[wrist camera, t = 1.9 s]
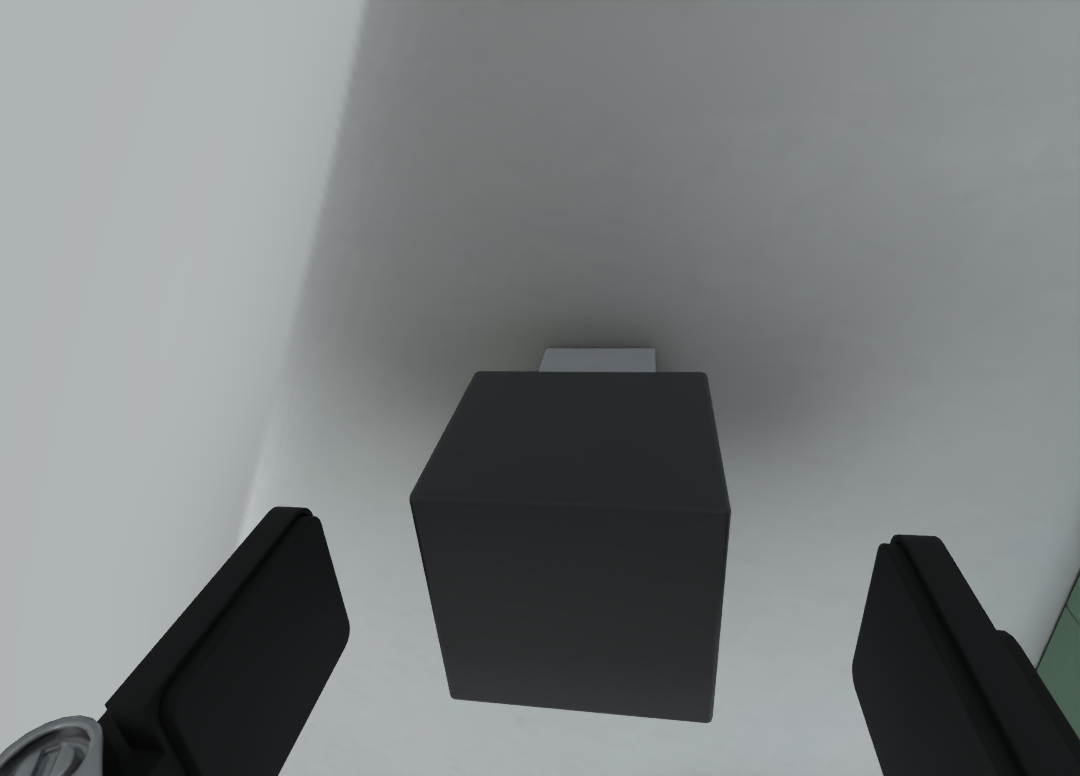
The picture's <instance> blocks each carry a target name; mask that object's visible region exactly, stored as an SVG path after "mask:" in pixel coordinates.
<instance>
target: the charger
mask: <svg viewBox="0 0 1080 776" xmlns="http://www.w3.org/2000/svg"><path fill="white" fill-rule="evenodd" d="M409 499H410V505H411V510H412V514H413V519H414V524H415V529H416V533H417V538H418V543H419V548H420V552H421V557H422V562H423V567H424V572H425V576H426V581H427V586H428V591H429V595H430V600H431V605H432V610H433V614H434V619H435V624H436V629H437V633H438V638H439V643H440V648H441V652H442V657H443V662H444V667H445V671H446V676H447V681H448V686H449V690H450V695H451V697H452V698H453V699H458V700H468V701H479V702H489V703H500V704H510V705H521V706H532V707H542V708H553V709H563V710H574V711H585V712H595V713H606V714H616V715H627V716H637V717H648V718H659V719H669V720H680V721H690V722H701V723H709V722H711V720H712V717H713V706H714V695H715V684H716V673H717V662H718V651H719V639H720V628H721V617H722V606H723V595H724V584H725V572H726V561H727V550H728V539H729V528H730V516H731V508H730V503H729V497H728V491H727V486H726V480H725V474H724V469H723V463H722V457H721V452H720V446H719V440H718V435H717V429H716V423H715V418H714V412H713V406H712V401H711V395H710V389H709V384H708V378H707V375H706V374H705V373H703V372H656V363H655V349H654V348H547V349H546V350H545V353H544V356H543V359H542V362H541V365H540V368H539V371H538V372H519V371H479V372H476V373H475V374H474V376H473V378H472V380H471V382H470V384H469V386H468V387H467V389H466V391H465V393H464V395H463V397H462V399H461V401H460V402H459V404H458V406H457V408H456V410H455V412H454V414H453V416H452V417H451V419H450V421H449V423H448V425H447V427H446V429H445V431H444V433H443V434H442V436H441V438H440V440H439V442H438V444H437V446H436V448H435V449H434V451H433V453H432V455H431V457H430V459H429V461H428V463H427V464H426V466H425V468H424V470H423V472H422V474H421V476H420V478H419V479H418V481H417V483H416V485H415V487H414V489H413V491H412V493H411V494H410V498H409Z"/></svg>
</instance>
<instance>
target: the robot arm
mask: <svg viewBox="0 0 1080 776" xmlns="http://www.w3.org/2000/svg"><path fill="white" fill-rule="evenodd" d="M349 632H350V625H349V620H348V617H347V613H346V609H345V606H344V602H343V599H342V595H341V592H340V588H339V585H338V581H337V578H336V574H335V571H334V567H333V563H332V560H331V556H330V553H329V549H328V546H327V542H326V539H325V535H324V532H323V528H322V524H321V522H320V519H319V518H318V517H315V516H313V515H312V512H311V511H310V510H309V509H307V508H299V507H274V508H272V509H271V510H270V511H269V512H268V513H267V514H266V516H265V517H264V518H263V519H262V520H261V522H260V523H259V524H258V525H257V526H256V527H255V529H254V530H253V531H252V532H251V533H250V534H249V536H248V537H247V538H246V539H245V540H244V542H243V543H242V544H241V545H240V546H239V547H238V549H237V550H236V551H235V552H234V553H233V554H232V556H231V557H230V558H229V559H228V560H227V562H226V563H225V564H224V565H223V566H222V568H221V569H220V570H219V571H218V572H217V573H216V575H215V576H214V577H213V578H212V579H211V580H210V582H209V583H208V584H207V585H206V586H205V587H204V589H203V590H202V591H201V592H200V593H199V594H198V596H197V597H196V598H195V599H194V600H193V601H192V603H191V604H190V605H189V606H188V607H187V609H186V610H185V611H184V612H183V613H182V614H181V616H180V617H179V618H178V619H177V620H176V622H175V623H174V624H173V625H172V626H171V627H170V629H169V630H168V631H167V632H166V633H165V635H164V636H163V637H162V638H161V639H160V640H159V642H158V643H157V644H156V645H155V646H154V647H153V649H152V650H151V651H150V652H149V653H148V654H147V656H146V657H145V658H144V659H143V660H142V661H141V663H140V664H139V665H138V666H137V667H136V668H135V670H134V671H133V672H132V673H131V674H130V676H129V677H128V678H127V679H126V680H125V682H124V683H123V684H122V685H121V686H120V687H119V689H118V690H117V691H116V692H115V693H114V695H113V696H112V697H111V698H110V699H109V700H108V701H107V703H106V704H105V706H106V708H107V711H106V712H105V713H104V715H103V716H102V717H101V718H100V719H99V720H98V721H97V722H96V721H95V720H94V719H93V718H90V717H85V716H81V715H79V716H70V717H63V718H60V719H57V720H54V721H51V722H48V723H45V724H43V725H42V726H40V727H38V728H36V729H34V730H32V731H30V732H28V733H27V734H25V735H24V736H22V737H21V738H20V739H18V740H17V741H16V742H14V743H13V744H11V745H10V746H9V747H8V748H6V749H5V750H4V751H3V752H2V753H1V755H0V776H278V775H279V773H280V771H281V769H282V767H283V765H284V763H285V761H286V759H287V757H288V755H289V753H290V752H291V750H292V748H293V746H294V744H295V742H296V740H297V738H298V736H299V734H300V732H301V731H302V729H303V727H304V725H305V723H306V721H307V719H308V717H309V715H310V713H311V711H312V709H313V708H314V706H315V704H316V702H317V700H318V698H319V696H320V694H321V692H322V690H323V688H324V687H325V685H326V683H327V681H328V679H329V677H330V675H331V673H332V671H333V669H334V667H335V665H336V664H337V662H338V660H339V658H340V656H341V654H342V652H343V650H344V648H345V646H346V644H347V642H348V638H349ZM852 674H853V682H854V686H855V690H856V693H857V696H858V699H859V702H860V705H861V708H862V711H863V714H864V717H865V720H866V724H867V727H868V730H869V733H870V736H871V739H872V742H873V745H874V748H875V751H876V754H877V757H878V760H879V763H880V766H881V769H882V772H883V775H884V776H1080V739H1079V738H1078V736H1077V734H1076V733H1075V731H1074V730H1073V728H1072V727H1071V725H1070V723H1069V722H1068V720H1067V719H1066V717H1065V715H1064V714H1063V712H1062V711H1061V709H1060V708H1059V706H1058V704H1057V703H1056V701H1055V700H1054V698H1053V697H1052V695H1051V693H1050V692H1049V690H1048V689H1047V687H1046V686H1045V684H1044V682H1043V681H1042V679H1041V678H1040V676H1039V674H1038V673H1037V671H1036V670H1035V668H1034V667H1033V665H1032V663H1031V662H1030V660H1029V659H1028V657H1027V656H1026V654H1025V652H1024V651H1023V649H1022V648H1021V646H1020V645H1019V644H1018V642H1017V641H1016V640H1015V639H1014V637H1013V636H1012V635H1010V634H1009V633H1007V632H1006V631H1002V630H996V629H995V627H994V626H993V624H992V622H991V621H990V619H989V617H988V616H987V614H986V612H985V611H984V609H983V608H982V606H981V604H980V603H979V601H978V599H977V598H976V596H975V594H974V593H973V591H972V590H971V588H970V586H969V585H968V583H967V581H966V580H965V578H964V576H963V575H962V573H961V571H960V570H959V568H958V567H957V565H956V563H955V562H954V560H953V558H952V557H951V555H950V553H949V552H948V550H947V549H946V547H945V545H944V544H943V542H942V541H941V540H940V539H939V538H938V537H936V536H918V535H894V536H893V538H892V539H891V542H890V544H884V543H883V544H881V545H880V546H879V548H878V551H877V556H876V560H875V565H874V569H873V574H872V578H871V583H870V587H869V591H868V596H867V600H866V605H865V609H864V614H863V618H862V623H861V627H860V632H859V636H858V641H857V645H856V650H855V654H854V659H853V664H852Z"/></svg>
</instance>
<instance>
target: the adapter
mask: <svg viewBox="0 0 1080 776" xmlns="http://www.w3.org/2000/svg"><path fill="white" fill-rule="evenodd" d="M1037 673H1038V674H1039V676H1040V678H1041V679H1042V681H1043V682H1044V684H1045V686H1046V687H1047V689H1048V690H1049V692H1050V693H1051V695H1052V697H1053V698H1054V700H1055V701H1056V703H1057V704H1058V706H1059V708H1060V709H1061V711H1062V712H1063V714H1064V715H1065V717H1066V719H1067V720H1068V722H1069V723H1070V725H1071V727H1072V728H1073V730H1074V731H1075V733H1076V734H1077V736H1078V738H1079V739H1080V575H1079V578H1078V580H1077V582H1076V584H1075V587H1074V589H1073V591H1072V593H1071V596H1070V598H1069V600H1068V602H1067V607H1065V608H1064V611H1063V613H1062V615H1061V617H1060V620H1059V622H1058V624H1057V626H1056V629H1055V631H1054V633H1053V636H1052V638H1051V640H1050V642H1049V645H1048V647H1047V649H1046V651H1045V654H1044V656H1043V658H1042V660H1041V663H1040V665H1039V667H1038V669H1037Z"/></svg>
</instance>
